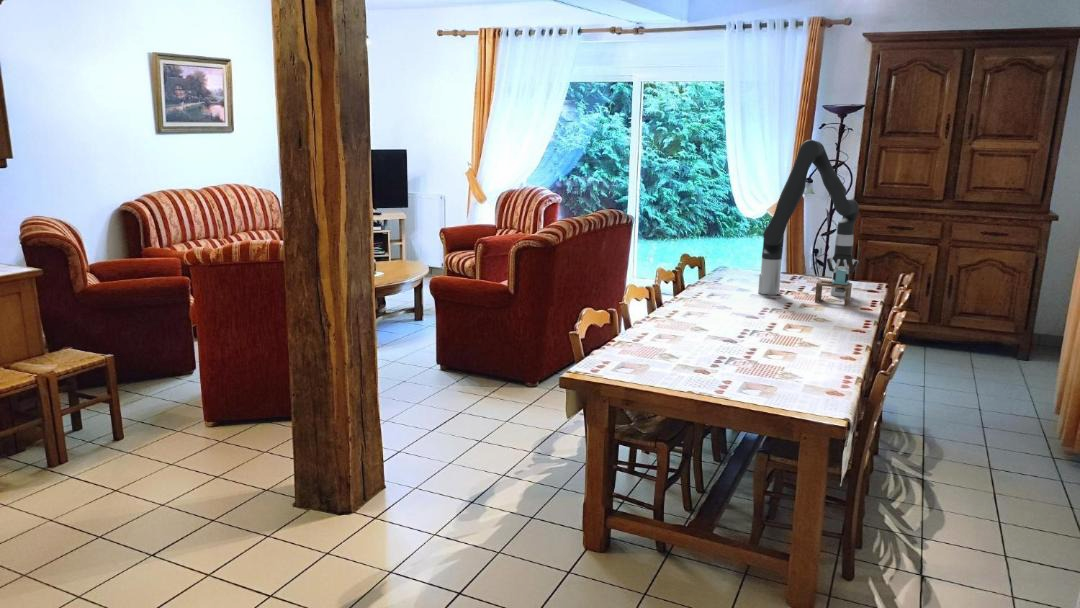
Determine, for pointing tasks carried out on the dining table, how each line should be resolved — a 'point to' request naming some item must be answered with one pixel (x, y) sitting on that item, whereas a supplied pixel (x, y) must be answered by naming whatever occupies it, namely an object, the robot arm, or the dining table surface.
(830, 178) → the robot arm
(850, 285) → the brown keyhole frame
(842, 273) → the teal peg
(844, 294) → the milk bottle
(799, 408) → the dining table surface
